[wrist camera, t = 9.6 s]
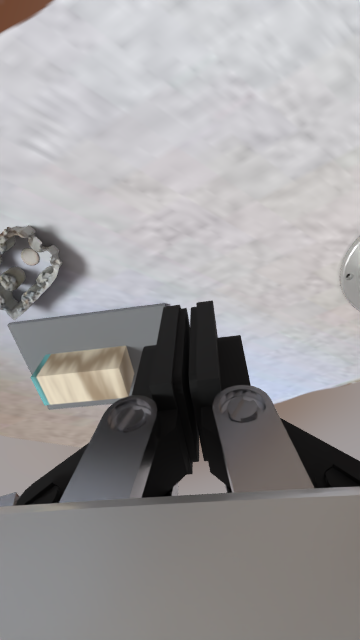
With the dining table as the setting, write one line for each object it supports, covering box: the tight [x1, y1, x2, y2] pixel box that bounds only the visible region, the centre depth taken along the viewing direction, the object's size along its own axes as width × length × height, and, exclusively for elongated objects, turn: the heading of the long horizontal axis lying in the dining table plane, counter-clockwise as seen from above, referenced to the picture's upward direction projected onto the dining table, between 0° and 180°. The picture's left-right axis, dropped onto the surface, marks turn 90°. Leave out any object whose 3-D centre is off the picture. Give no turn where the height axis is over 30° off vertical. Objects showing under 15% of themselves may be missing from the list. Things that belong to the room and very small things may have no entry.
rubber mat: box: [8, 303, 166, 410], centre depth 49 cm, size 22×16×1 cm
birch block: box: [31, 346, 134, 405], centre depth 46 cm, size 5×5×12 cm
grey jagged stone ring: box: [0, 225, 63, 320], centre depth 41 cm, size 11×8×4 cm
